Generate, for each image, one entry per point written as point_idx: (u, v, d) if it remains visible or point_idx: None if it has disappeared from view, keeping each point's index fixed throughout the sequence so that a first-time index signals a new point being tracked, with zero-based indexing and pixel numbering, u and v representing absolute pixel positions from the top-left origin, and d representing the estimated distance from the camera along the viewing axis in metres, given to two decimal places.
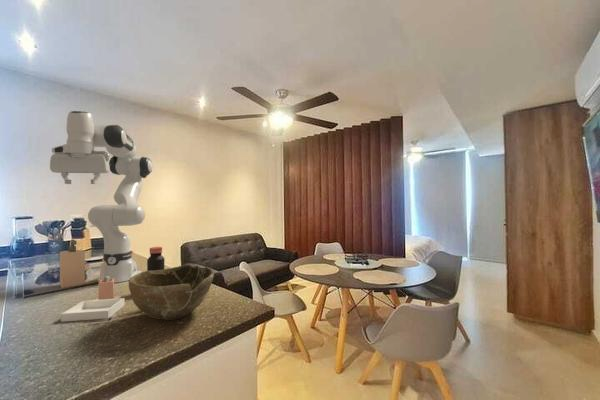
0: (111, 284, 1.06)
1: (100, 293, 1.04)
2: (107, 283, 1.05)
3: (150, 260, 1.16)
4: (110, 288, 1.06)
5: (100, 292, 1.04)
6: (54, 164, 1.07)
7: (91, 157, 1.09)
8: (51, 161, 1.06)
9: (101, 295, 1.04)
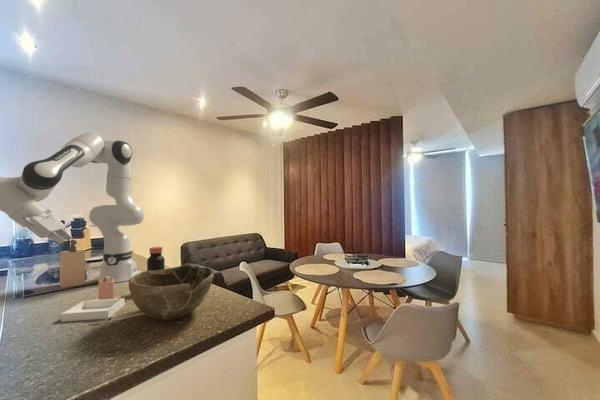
0: (111, 284, 1.06)
1: (100, 293, 1.04)
2: (107, 283, 1.05)
3: (150, 260, 1.16)
4: (110, 288, 1.06)
5: (100, 292, 1.04)
6: None
7: None
8: None
9: (101, 295, 1.04)
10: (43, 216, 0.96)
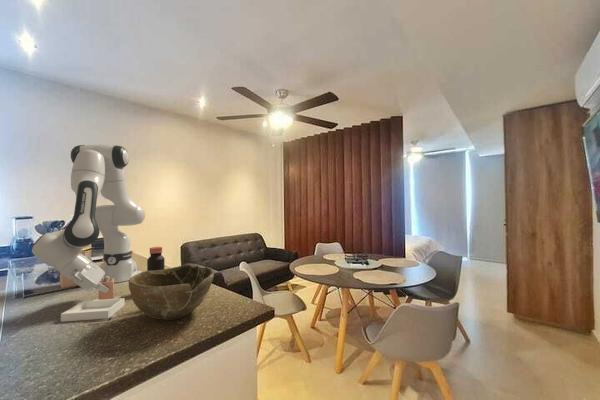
0: (111, 284, 1.06)
1: (100, 293, 1.04)
2: (107, 283, 1.05)
3: (150, 260, 1.16)
4: (110, 288, 1.06)
5: (100, 292, 1.04)
6: None
7: None
8: None
9: (101, 295, 1.04)
10: (88, 268, 1.02)
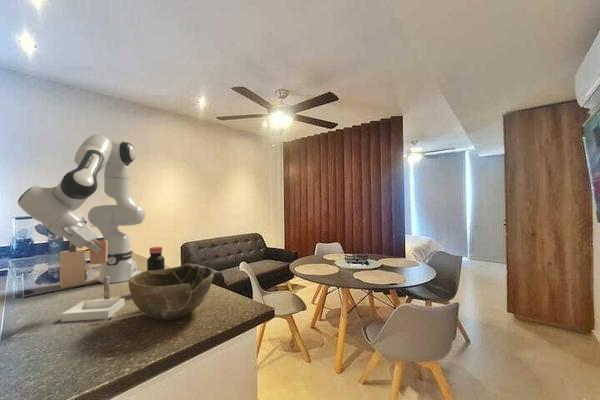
0: (104, 244, 0.99)
1: (92, 253, 0.97)
2: (100, 243, 0.98)
3: (150, 260, 1.16)
4: (103, 249, 0.98)
5: (92, 252, 0.97)
6: None
7: None
8: None
9: (93, 255, 0.97)
10: (79, 226, 0.95)
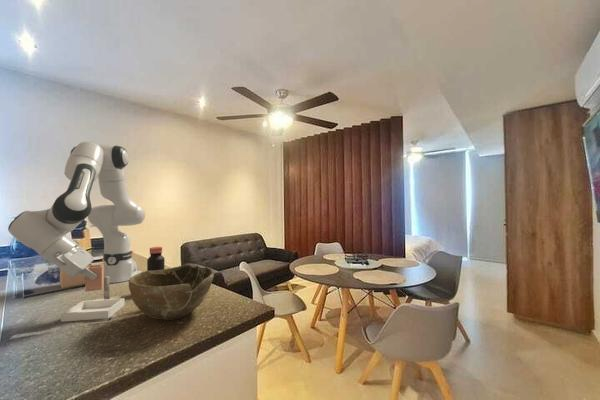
0: (100, 270, 0.94)
1: (87, 280, 0.93)
2: (95, 269, 0.94)
3: (150, 260, 1.16)
4: (99, 274, 0.94)
5: (87, 278, 0.93)
6: None
7: None
8: None
9: (88, 282, 0.93)
10: (73, 251, 0.91)
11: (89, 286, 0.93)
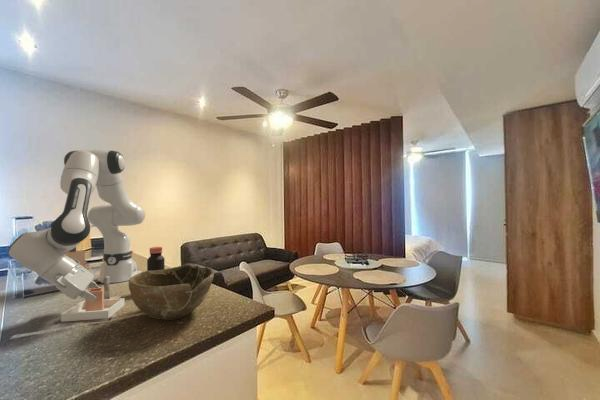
0: (100, 294, 0.94)
1: (87, 304, 0.93)
2: (95, 293, 0.94)
3: (150, 260, 1.16)
4: (99, 298, 0.94)
5: (87, 303, 0.93)
6: None
7: None
8: None
9: (89, 306, 0.93)
10: (73, 272, 0.91)
11: (89, 310, 0.93)
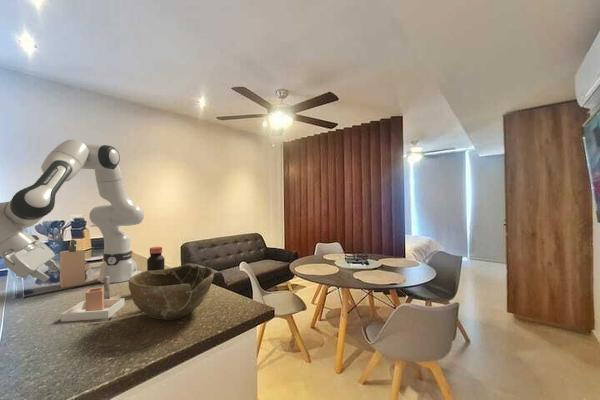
0: (100, 294, 0.94)
1: (87, 304, 0.93)
2: (95, 293, 0.94)
3: (150, 260, 1.16)
4: (99, 298, 0.94)
5: (87, 303, 0.93)
6: None
7: None
8: None
9: (89, 306, 0.93)
10: (28, 249, 0.87)
11: (89, 310, 0.93)
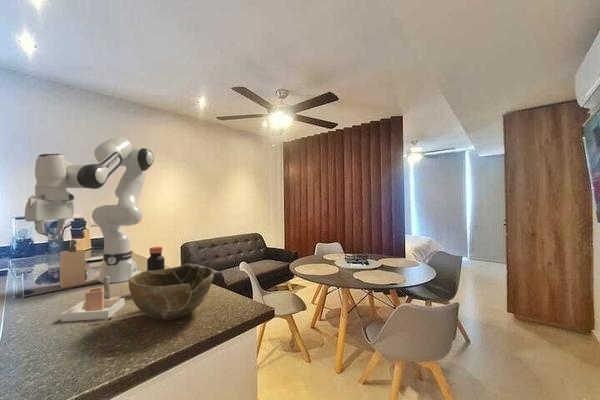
0: (100, 294, 0.94)
1: (87, 304, 0.93)
2: (95, 293, 0.94)
3: (150, 260, 1.16)
4: (99, 298, 0.94)
5: (87, 303, 0.93)
6: None
7: None
8: None
9: (89, 306, 0.93)
10: (54, 203, 1.00)
11: (89, 310, 0.93)
